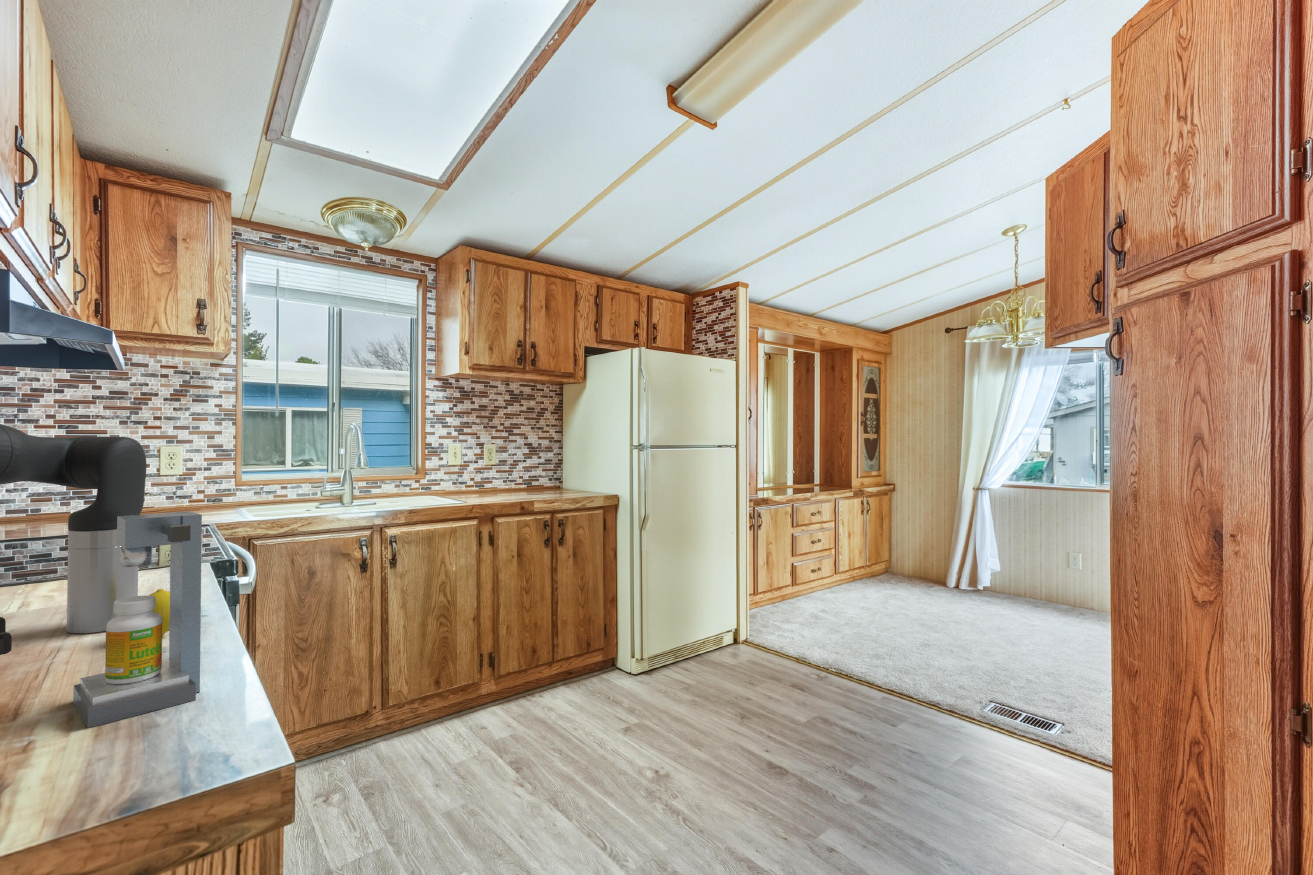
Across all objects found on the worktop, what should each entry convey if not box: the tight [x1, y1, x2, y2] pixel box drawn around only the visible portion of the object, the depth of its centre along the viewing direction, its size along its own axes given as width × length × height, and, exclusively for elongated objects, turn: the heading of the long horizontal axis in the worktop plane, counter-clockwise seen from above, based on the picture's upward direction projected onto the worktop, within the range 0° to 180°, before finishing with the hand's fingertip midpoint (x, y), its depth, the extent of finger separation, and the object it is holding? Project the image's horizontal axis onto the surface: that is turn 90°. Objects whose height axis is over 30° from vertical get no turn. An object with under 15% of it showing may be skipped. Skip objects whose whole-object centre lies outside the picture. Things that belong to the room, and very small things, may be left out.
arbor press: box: [72, 510, 203, 729], centre depth 76 cm, size 15×11×23 cm
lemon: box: [147, 588, 170, 637], centre depth 101 cm, size 6×6×8 cm
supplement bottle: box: [104, 595, 163, 684], centre depth 76 cm, size 5×5×10 cm
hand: (8, 633), depth 68 cm, fingers open, 8 cm apart
